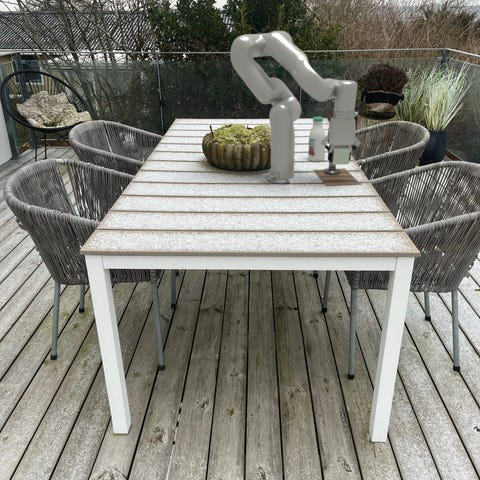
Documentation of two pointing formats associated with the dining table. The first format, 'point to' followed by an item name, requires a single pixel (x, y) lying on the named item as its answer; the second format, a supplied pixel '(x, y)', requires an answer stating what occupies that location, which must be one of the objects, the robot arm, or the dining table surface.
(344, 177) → the board
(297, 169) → the dining table surface
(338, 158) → the pale green cube
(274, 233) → the dining table surface
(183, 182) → the dining table surface
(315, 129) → the milk bottle
